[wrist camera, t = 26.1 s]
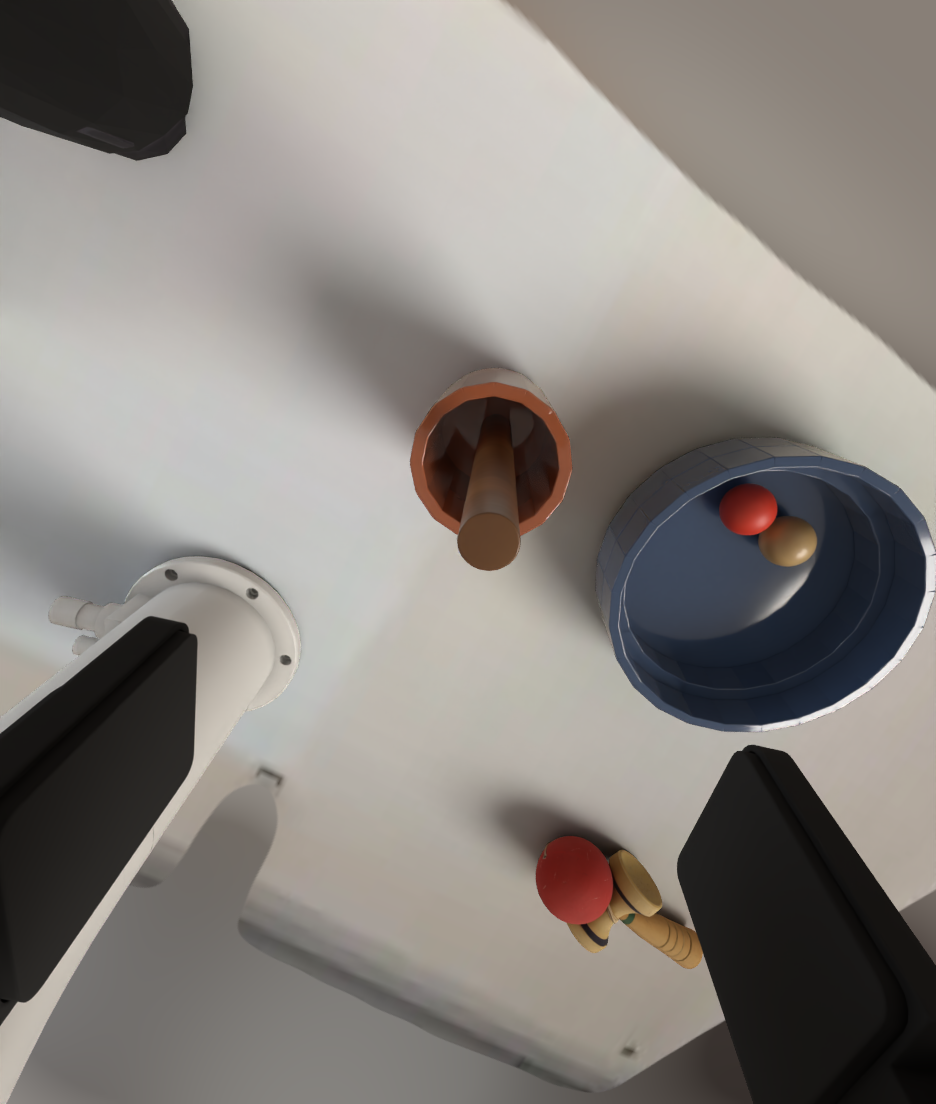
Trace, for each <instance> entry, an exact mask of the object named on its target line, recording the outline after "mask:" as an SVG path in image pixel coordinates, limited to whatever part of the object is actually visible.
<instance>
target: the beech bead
mask: <svg viewBox="0 0 936 1104" xmlns="http://www.w3.org/2000/svg"><path fill="white" fill-rule="evenodd" d="M758 545H759V549H760V551H761V553H762V555H763V556H764V557H765V558H766V559H767V560H768V561H770V562H771V563H773V564H776V565H779V566H786V567H789V566H796V565H799V564H801V563H803V562H805V561H807V560H808V559H809V558H810V557H811V556H812V555H813V553H814V551H815V549H816V546H817V536H816V533H815V531H814V529H813V527H812V526H811V525H810V524H809V523H808V522H806V521H805V520H803V519H801V518H798V517H795V516H781V517H777V518H775V520H774V521H773V523H772V524H771V525H770V526H769V527H768V528H767V529H766V530H764V531H763V532H761V533H760V534H759V538H758Z"/></svg>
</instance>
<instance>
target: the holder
mask: <svg viewBox="0 0 936 1104" xmlns="http://www.w3.org/2000/svg"><path fill="white" fill-rule="evenodd" d="M493 414H499V415H502V416H504V417H506V418H507V419H508V421H509V422H510V425H511V432H512V444H513V456H514V468H515V480H516V492H517V504H518V516H519V528H520V536H521V535H523V534H525V533H527V532H529V531H531V530H532V529H534V528H536V527H538V526H540V525H542V524H543V523H544V522H545V521H546V520H547V519H548V517H549V516H550V515H551V514H552V513H553V511H554V510H555V509H556V508H557V507H558V505H559V504H560V503H561V502H562V499H564V496H565V492H566V489H567V486H568V483H569V480H570V477H571V473H572V459H571V448H570V439H569V436H568V435H567V433H566V431H565V429H564V427H563V426H562V424H561V422H560V420H559V418H558V416H557V415H556V413H555V411H554V409H553V408H552V406H551V404H550V403H549V401H548V399H547V398H546V396H545V394H544V393H543V391H542V390H541V389H540V388H539V387H538V386H537V385H536V384H535V383H533V382H532V381H531V380H530V379H528V378H527V377H525V376H524V375H523V374H521V373H518V372H515V371H512V370H509V369H503V368H486V369H481V370H477V371H473V372H470V373H469V374H467V375H465V376H464V377H462V378H460V379H459V380H458V381H456V382H455V383H453V384H452V385H451V386H450V387H449V388H448V389H447V390H446V391H445V393H444V394H443V395H442V396H441V397H440V398H439V399H438V401H437V402H436V403H435V404H434V405H433V406H432V408H431V409H430V411H429V412H428V414H427V415H426V417H425V418H424V420H423V421H422V423H421V424H420V426H419V427H418V429H417V430H416V433H415V437H414V442H413V447H412V453H411V458H410V467H411V472H412V477H413V481H414V486H415V491H416V492H417V495H418V497H419V498H420V500H421V501H422V503H423V504H424V506H425V507H426V509H427V510H428V512H429V513H430V515H431V516H432V517H434V519H435V520H436V521H438V522H439V523H441V524H442V525H444V526H445V527H447V528H448V529H449V530H451V531H452V532H454V533H455V534H457V535H458V533H459V528H460V523H461V518H462V514H463V509H464V504H465V500H466V495H467V490H468V486H469V481H470V476H471V471H472V467H473V462H474V457H475V453H476V448H477V443H478V439H479V434H480V429H481V425H482V423H483V421H484V420H485V419H486V418H487V417H488V416H490V415H493Z"/></svg>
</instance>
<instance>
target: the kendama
mask: <svg viewBox="0 0 936 1104" xmlns="http://www.w3.org/2000/svg"><path fill="white" fill-rule="evenodd" d="M536 885H537V889H538V892H539V893H538V894H539V896H540V897H541V899H542V901H543V903H544V904H545V906H546V907H547V909H548V910H549V911H550V912H551V913H552V914H553V915H554V916H556V917H557V918H558V919H560V920H562V921H564V922H567V925H568V926H569V928H570V930H571V932H572V934H573V935H574V937H575V938H576V939H577V940H578V942H579V943H580V944H581V945H582V946H583V947H584V948H585V949H586V950H588V951H590V952H592V953H597V952H599V951H601V950H602V949H604V948H605V947H606V946H607V943H608V935H609V931H610V928H611V926H612V925H613V923H614V924H615V923H616V922H617V921H618V920H619V919H620V920H621V921H622V922H623V923H624V924H625V925H626V926H628V927H629V928H630V929H631V930H632V931H633V932H635V933H636V934H637V935H638V936H640V937H641V938H642V939H644V940H645V941H647V942H648V943H649V944H651V945H653V946H654V947H655V948H657V949H658V950H660V951H661V952H663V953H664V954H666V955H667V956H668V957H670V958H671V959H672V960H674V961H675V962H676V963H678V964H679V965H680V966H682V967H684V968H687V969H692V968H694V967H696V966H697V965H698V964H699V963H700V961H701V958H702V954H703V951H702V948H701V945H700V942H699V939H698V936H697V933H696V932H695V931H693V930H692V929H689V928H687V927H685V926H682V925H680V924H678V923H675V922H673V921H671V920H669V919H667V918H665V917H663V916H661V915H659V914H657V913H656V912H657V911H658V910H660V909H661V907H662V900H661V896H660V893H659V891H658V888H657V886H656V885H655V883H654V881H653V879H652V878H651V876H650V875H649V874H648V872H647V871H646V869H645V868H644V867H643V866H642V865H641V863H640V862H639V861H638V860H637V859H636V858H635V857H634V856H633V855H631V854H630V853H629V852H627V851H625V850H619V851H618V852H617V853H615V854H614V855H612V856H611V857H610V859H609V864H608V862H607V860H606V858H605V856H604V855H603V854H602V852H601V851H600V850H599V849H598V848H597V847H596V846H595V845H594V844H592V843H591V842H589V841H588V840H586V839H583V838H580V837H576V836H564V837H560V838H557V839H555V840H554V841H552V842H549V843H548V844H547V845H546V847H545V849H544V850H543V852H542V854H541V856H540V858H539V860H538V864H537V868H536ZM618 918H619V919H618Z"/></svg>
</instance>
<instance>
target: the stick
mask: <svg viewBox="0 0 936 1104" xmlns="http://www.w3.org/2000/svg"><path fill="white" fill-rule="evenodd" d="M520 542H521V541H520V528H519V516H518V504H517V492H516V480H515V468H514V456H513V444H512V432H511V425H510V422H509V421H508V419H507V418H506V417H504V416H502V415H499V414H493V415H490V416H488V417H487V418H486V419H485V420H484V421H483V423H482V425H481V429H480V434H479V439H478V443H477V448H476V453H475V457H474V462H473V467H472V471H471V476H470V481H469V486H468V490H467V495H466V500H465V504H464V509H463V514H462V518H461V523H460V528H459V533H458V538H457V544H458V549H459V552H460V554H461V556H462V557H463V558H464V560H465V561H466V562H467V563H469V564H470V565H471V566H473V567H475V568H477V569H481V570H486V571H492V570H498V569H501V568H503V567H505V566H507V565H508V564H510V563H511V562H512V561H513V560H514V559H515V557H516V556H517V554H518V552H519V549H520Z"/></svg>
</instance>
